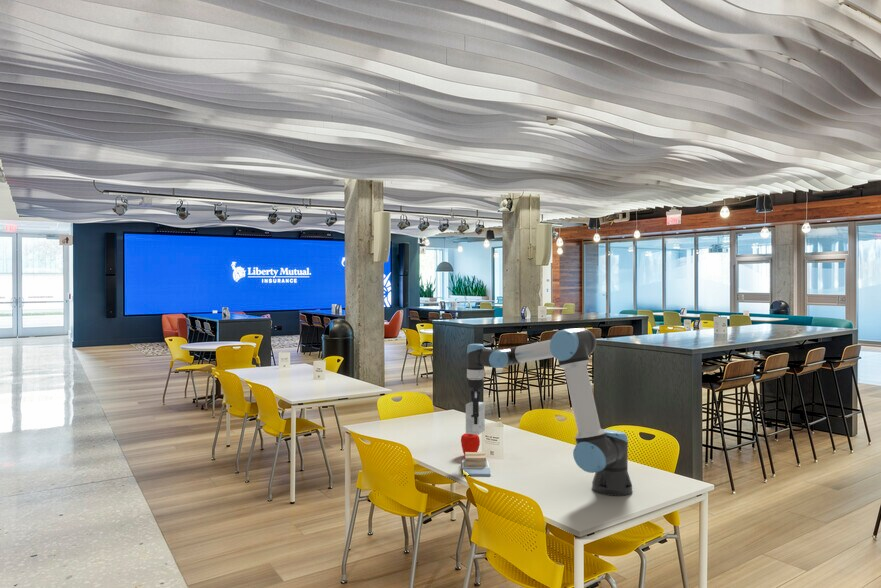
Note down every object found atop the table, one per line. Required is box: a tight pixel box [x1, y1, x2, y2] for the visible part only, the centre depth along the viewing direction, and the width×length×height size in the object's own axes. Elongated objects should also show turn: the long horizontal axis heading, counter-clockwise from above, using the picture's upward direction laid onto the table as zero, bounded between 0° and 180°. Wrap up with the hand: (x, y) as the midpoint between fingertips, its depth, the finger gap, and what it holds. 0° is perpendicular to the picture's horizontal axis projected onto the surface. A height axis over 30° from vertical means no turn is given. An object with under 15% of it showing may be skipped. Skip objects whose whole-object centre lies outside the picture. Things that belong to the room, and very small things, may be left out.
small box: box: [465, 401, 486, 436], centre depth 261 cm, size 8×6×13 cm
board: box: [461, 459, 491, 477], centre depth 257 cm, size 20×12×1 cm, turn 178°
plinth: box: [464, 451, 487, 467], centre depth 261 cm, size 9×9×4 cm
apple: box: [460, 432, 481, 456], centre depth 277 cm, size 9×9×11 cm
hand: (475, 428), depth 261 cm, fingers closed on small box, 10 cm apart
